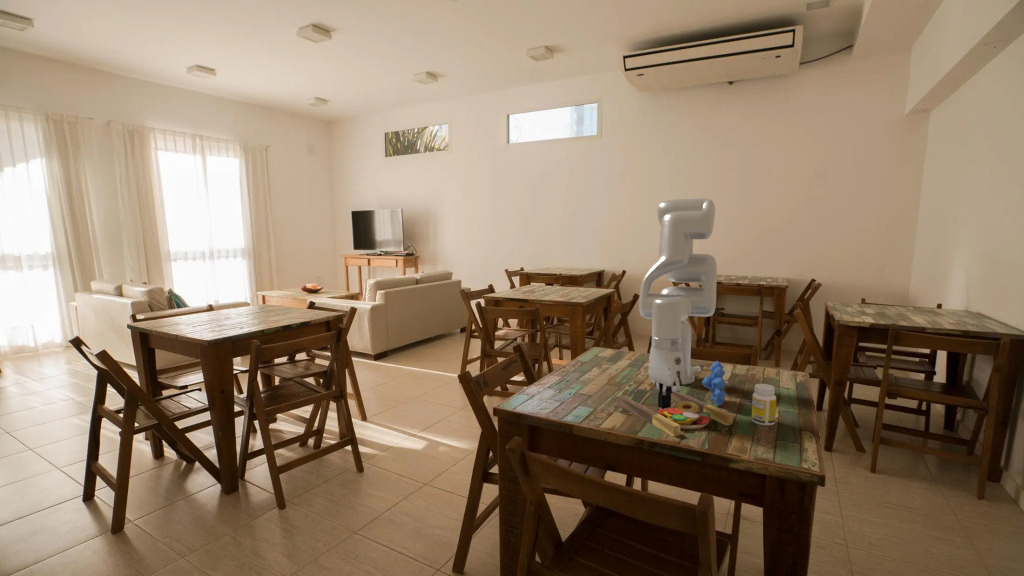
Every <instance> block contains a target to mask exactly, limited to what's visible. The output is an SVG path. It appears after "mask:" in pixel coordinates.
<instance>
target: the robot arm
mask: <svg viewBox="0 0 1024 576" xmlns="http://www.w3.org/2000/svg"><path fill="white" fill-rule="evenodd" d="M656 213H657V214H656V215H657V219H658V222H659V225H660V233H659V235H660V236H659V249H658V257H657V258H658V259H657V261H656V262H655V263H654V264H653V265H651V267H650V268H649V269H648V270H647V271H646V273H645V275H644V276H643V278H642V280H641V284H640V289H639V298H638V299H639V300H638V311H639V314H640V316H641V317H642V318H644V319H645V320H651V321H652V322H651V323H652V324H651V346H650V351H649V357H648V377H649V378H650V381H651V382H652V384H654V386H655V387H656V392H657V395H658V396H657V407H658V408H660V409H667V408H672V400H671V394H673V392H680V391H681V386H684V385H690V384H693V383H695V381H696V380H695V379H696V378H695V376H694V375H693V374H694V373H699V372H701V371H702V368H701V366H699V365H697V366H693V365H691V352H692V349H691V347H692V328H691V325H690V324H689V322H688V321H687V319H688V318H689V317H690V316H691V317H711V316H713V315H714V313H715V311H716V306H717V305H716V304H717V280H718V279H717V278H718V276H717V275H718V274H717V273H718V270H717V269H718V267H717V261H716V258H715V257H714V255H712V254H707V253H694V252H693V248H694V240H707V239H709V238H710V237H711V235H712V233H713V229H714V225H715V224H714V223H715V214H716V206H715V202H714V201H713V200H712V199H711V198H679V199H667V200H663V201H662V202H659V203H658V206H657V209H656ZM664 275H665V278H666V279H667V280H668V281H669V282H672V283H673V282H674V283H687V284H691V283H692V284H699V285H701V287H699V286H697V287H695V286H677V285H676V286H667V287H665V288H663V289H661V291H660V292H659V293H651V289H652V287H653V284H654V283H655V282H656V281H657V280H658V279H659V278H661V277H663V276H664Z"/></svg>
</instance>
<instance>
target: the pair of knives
mask: <svg viewBox="0 0 1024 576" xmlns="http://www.w3.org/2000/svg"><path fill="white" fill-rule="evenodd" d="M671 401H673V402H675V403H678V402H681V401H689V402H693V403H695V404H696V405H697V406H698V407H699V412H708V413H710V414H711V416H710V417H709V418H710V419H713V420H714V421H716V422H718V423H720V424H722V425H724V426H730V425H733V421H734V419H733V417H734V415H733V414H732V413H730V412H727V411H725V410H722V409H720V408H718V407H716V406H714V405H711V404H709V403H706V402H704V401H702V400H699V399H697V398H695V397H694V396H691V395H688V394H685V393H683V392H680V391H679V392H673V394H671ZM616 405H617V406H619V407H620V408H622V409H624V410H626V411H628V412H630V413H631V414H633V415H635V416H636V417H639V418H641V420H643V421H646V423H649V424H650V425H652V426H655V427H656V428H658V429H659V430H662V431H663V432H665V433H666V434H668V435H670V436H672V437H677V436H678V437H679V436H681V428H680V425H679V424H677V423H675V422H673V421H671V420H669V419H667V418H665V417H663V416H662V415H660V414H658V412H656V411H654V410H652V409H650V408H648V407H646V406H644V405H642V404H641V403H638V402H636V401H634V400H633V399H631V398H629V397H627V396H625V395H624V394H622V395H621V394H620V395H616Z"/></svg>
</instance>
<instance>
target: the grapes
mask: <svg viewBox="0 0 1024 576" xmlns="http://www.w3.org/2000/svg"><path fill="white" fill-rule="evenodd" d="M709 371H711V373H710V374H709V376H706V377H704V378H703V380H702V381H701V383H702V386H704V387H705V388H706V389H709V391H710V392H711V395H710V398H711V400H712V401H713V403H714V404H715V405H716V406H721V405H723V404H724V402H725V401H726V399H725V398H726V397H727V393H726V392H725V390H724V388H725V387H726V386H727V382H726V380H724V375H725V374H726V372H725V370H724V366H723V364H722V363H721V362H720V361H718V360H715V361H714V362H713V364H712V365H711V366H710V368H709Z"/></svg>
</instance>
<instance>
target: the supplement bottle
mask: <svg viewBox="0 0 1024 576" xmlns="http://www.w3.org/2000/svg"><path fill="white" fill-rule="evenodd" d="M751 406H752V407H751V421H752V422H753V423H755V424H757V425H762V426H773V425H775V424H776V416H777V415H776V411H777V396H776V395H775V386H773V385H771V384H767V383H756V384H754V392H753V393H752V403H751Z"/></svg>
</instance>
